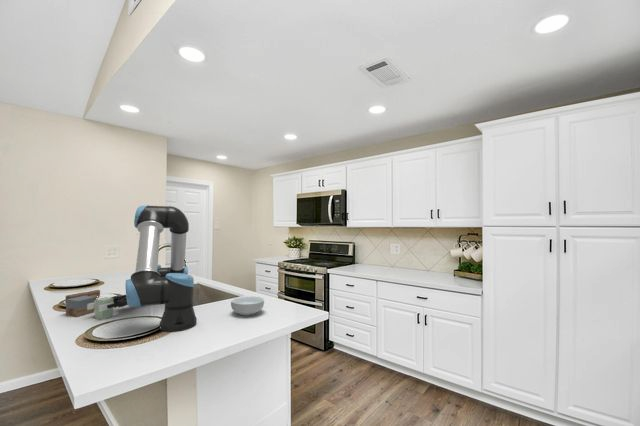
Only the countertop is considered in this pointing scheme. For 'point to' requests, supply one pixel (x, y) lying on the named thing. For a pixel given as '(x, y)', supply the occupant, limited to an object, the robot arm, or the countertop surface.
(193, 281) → the robot arm
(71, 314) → the tower base
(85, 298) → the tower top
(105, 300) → the green pillar
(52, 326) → the countertop surface
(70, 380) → the countertop surface
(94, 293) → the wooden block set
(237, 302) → the cereal bowl
